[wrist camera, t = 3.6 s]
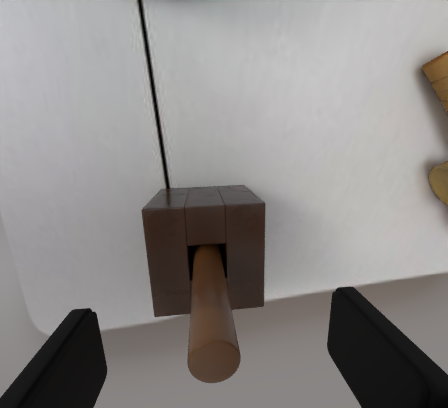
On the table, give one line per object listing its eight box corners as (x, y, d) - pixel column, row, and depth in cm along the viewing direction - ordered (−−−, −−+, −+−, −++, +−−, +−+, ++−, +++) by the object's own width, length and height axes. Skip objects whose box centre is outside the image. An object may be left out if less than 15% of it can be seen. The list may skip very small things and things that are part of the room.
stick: (196, 235, 21) (189, 387, 8) (195, 217, 21) (185, 343, 7) (215, 234, 21) (241, 380, 8) (214, 216, 21) (240, 337, 7)
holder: (168, 265, 22) (154, 317, 15) (161, 188, 20) (141, 209, 13) (244, 259, 22) (264, 307, 16) (244, 184, 21) (265, 202, 14)
